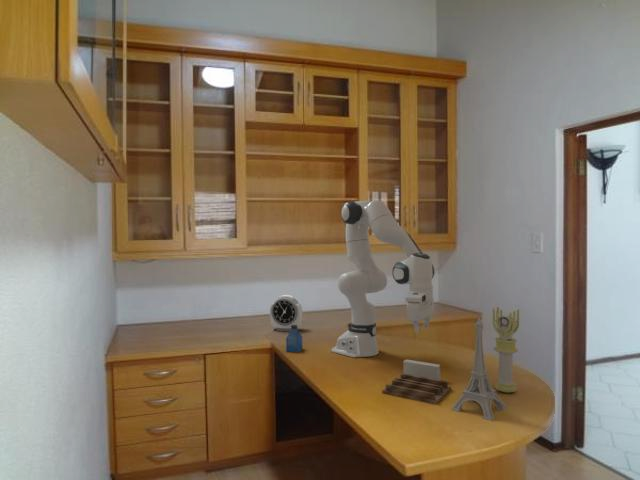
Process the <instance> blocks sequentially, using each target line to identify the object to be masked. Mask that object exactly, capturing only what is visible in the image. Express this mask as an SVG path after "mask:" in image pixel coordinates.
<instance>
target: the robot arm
mask: <svg viewBox="0 0 640 480" xmlns="http://www.w3.org/2000/svg"><path fill="white" fill-rule="evenodd" d="M340 210H341V211H340V217H341V219H342V221H343V222H344V223H345V232H344V233H345V244H346V245H345V246H346V252H347V254H346V255H347V258H348V261H350V262H351V263H353V264H354V265H355V266H356V268H357V270H353V271H348V272H345V273H342V274H340V276H339V277H338V279H337V287H338V290H339V291H340V292H341V294H342V295H344V296H345V297H346V299H347V300H348V303H349V305H350V312H351V317H350V318H351V322H349V323H348V324H347V325H346V328H348V329H347V330H346V331H345V332H343V334H341V335H340V336H338V338H337V340H336V345H335V346H334V347H331V352H332V353H335V354H340V355H343V356H348V357H351V358H362V357H365V358H366V357H373V356H377V355H378V354H379V349H378V344H377V337H376V335H377V334H376V333H377V323H376V308H375V306H374V305H373V303H371V302H370V301H368V300H367V296H366V295H367V294H373V293H374V294H375V293H378V292H381V291H383V290H384V289H386V287H387V285H388V278H387V275H386V273H385V272H384V271H382V270H381V269H380V268H379V267H378V266H377V264H376V262H375V260H374V257H373V255H372V250H371V245H370V238H369V228H370V230H371V232H372V234H373V236H374V237H375V238H376V239H377V240H378V241H380V242H383V243H385V244H390V245H393V246H395V247H399V248H400V249H401V250H403V252H404V253H405V255H406V256H407V258H406V259H404V260H401V261H397V262H396V263H394V265H393V267H392V278H393V280H394V281H395V282H396V284H398V285H409V291H408V293H407V294H406V296H405V297H404V298H405V302H407V303H406V318H407V321H408V322H409V323H412V325H413V330H414V331H413V332H414V333H420V332H421V328H420V325H419V324H420V321H423V323H422V324H423V325H422V328H424V329H428V328H429V327H430V325H429V323H430V320H431V316H433V315H434V314H435V300H434V292H433V290H434V288H433V287H434V286H433V279H434V276H435V267H434V265H433V263H432V258H431V256H430V255H428V254H427V253H423V252H422V251H421V249H420V248H419V246H418V244H417V243H416V242H415V240H414V239H413V237H411V235H410V234H409V233H408V232H407V231H406V230H405V229H404V228H402V227H401V225H400V224H399V223H398V221H397V220H396V219H395V218H394V216H393V213H392V212H391V210H390V209H389V207H388V206H387V205H386V203H385V202H384V201H382V200H380V199H376V200H375V199H374V200H357V201H353V200H351V201H347V202H344V204H343V205H342V207H341V209H340Z"/></svg>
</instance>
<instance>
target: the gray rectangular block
mask: <svg viewBox="0 0 640 480" xmlns="http://www.w3.org/2000/svg"><path fill="white" fill-rule="evenodd" d="M402 364H403V370H402V371H403V373H402V374H408V375H413V376H419V377H424V378H430V379H435V380H441V364H437V363H431V362H424V361H419V360H411V359H405V360H403V363H402Z"/></svg>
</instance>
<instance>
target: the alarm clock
mask: <svg viewBox="0 0 640 480" xmlns="http://www.w3.org/2000/svg"><path fill="white" fill-rule="evenodd" d="M269 319H270V320H269V321H270V325H271V328H276V332H291V325H297V328H298V329H299V328H300V327H301V326H302V323H303V306H302V304H301V303H300V302H299V301H298V299H296V298H294V296H293V295H290V294H283V295H280V296H278V297H277V300H275V301H274V302H272V303H271V305H270V307H269Z"/></svg>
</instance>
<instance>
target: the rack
mask: <svg viewBox="0 0 640 480" xmlns="http://www.w3.org/2000/svg"><path fill="white" fill-rule="evenodd" d="M448 383H449V382H448V381H445V380H441V379H440V380H435V379H430V378H424V377H419V376H413V375H408V374H403V373H400V377H394V379H392V380H391V383H386V384H385V387H384V388H383V389H382V391H381V392H382V394H385V393H386V395H390V396H395V397H400V398H404V399H410V400H414V401H419V402H424V403H428V404H433V405H437V404H439V402H440V401H441V400H443V398H444V397H445V396H447V395H448V394H449V393H450V392H451V391H452V387H451V386H449V384H448Z"/></svg>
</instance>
